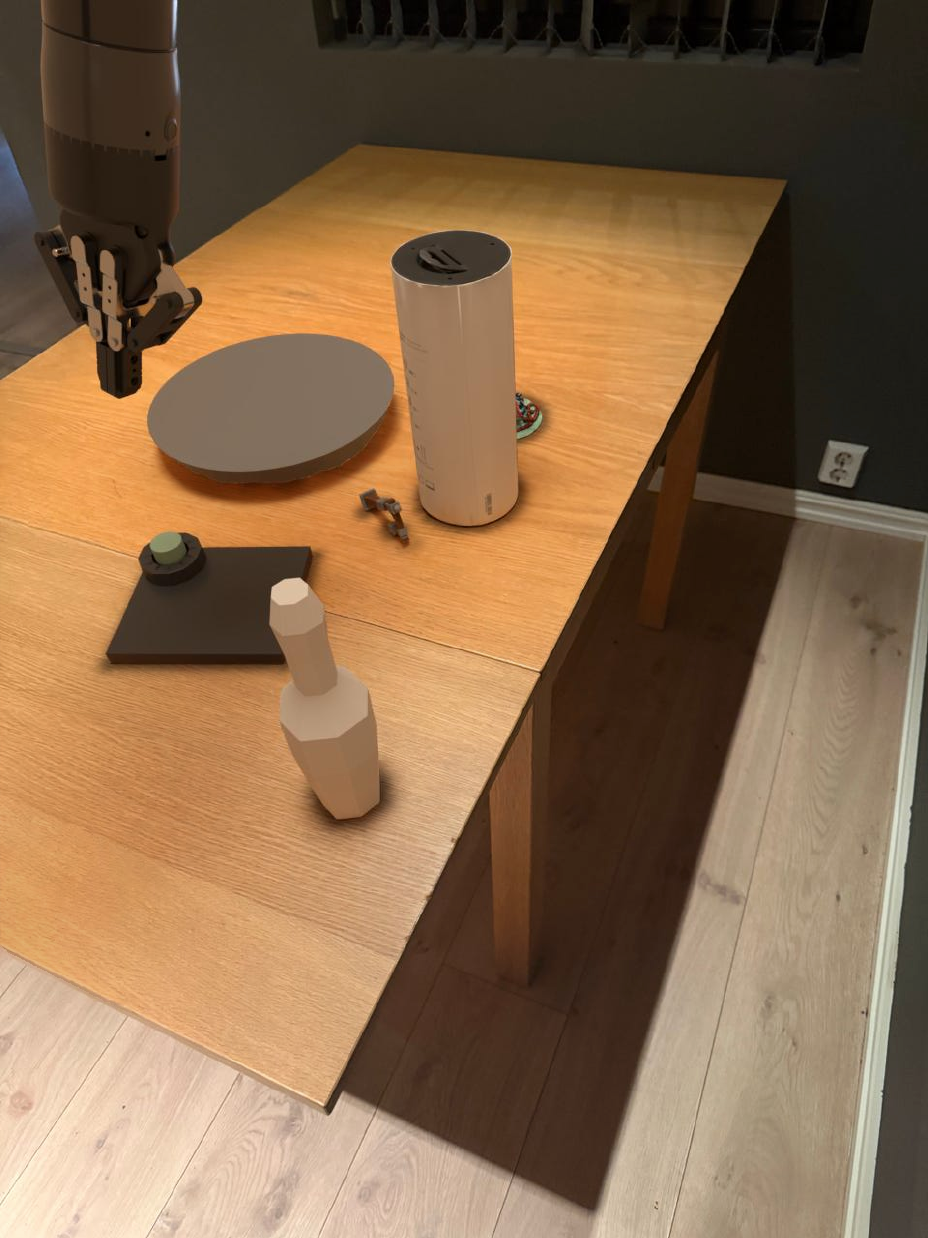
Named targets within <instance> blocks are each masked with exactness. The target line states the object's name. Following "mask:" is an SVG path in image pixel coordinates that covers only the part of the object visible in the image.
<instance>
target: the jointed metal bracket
mask: <svg viewBox="0 0 928 1238" xmlns="http://www.w3.org/2000/svg"><path fill="white" fill-rule="evenodd" d="M377 492H378V491H377V490H376V488H375V487H373V488H371V489H369V490H367V491H364V492H362V493H360V494H358V495H359V498H360V499H359V500H360V502H361V504H362V507H363V510H364V511H369V510H371V509H373V508H377V510H378V511H379V510H380V511H382V512H388V513H390V515H391V516H392V518H393V521H391V522H389V523H387V524H386V525H387V528H388V532H389V533H390V534H391V533H392V535H393V536H395V535H399V536H400V539H401V542H403V543H407V542H409V541H410V538H409V537H410V536H409V535H408V534H409V531H408V528H407V527H406V526H405V524H404V521H403V518H402V515H401V512H402V511H403V509H402V506H401V503H400V501H397V500H396V499H395V498H393V497H390V498H386V497H384V496H383V497H380V496H379V495H378V493H377Z"/></svg>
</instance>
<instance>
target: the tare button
mask: <svg viewBox="0 0 928 1238" xmlns="http://www.w3.org/2000/svg"><path fill="white" fill-rule="evenodd" d="M149 543H150V549H151V551H152V553H153V555H154V558H155V560H156V562H157V563H158V564H160V565H171V564H174V563H177V562H179V561H181V560H182V559H183V558H184V557H185V556H186V553H187V550H186V548H185V545H184V543H183V540H182V538H181V536H180V534H178V532H176V531H170V530H169V531H163V532H160V533H158V534H157V535H155V536H154V537H153V538H152V539H151V540H150V541H149Z"/></svg>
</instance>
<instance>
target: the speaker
mask: <svg viewBox="0 0 928 1238" xmlns="http://www.w3.org/2000/svg"><path fill="white" fill-rule="evenodd" d="M389 264H390V270H391V271H390V272H391V277H392V285H393V294H394V301H395V309H396V316H397V317H396V318H397V325H398V334H399V341H400V342H399V343H400V350H401V356H402V364H403V373H404V381H405V387H406V388H405V389H406V396H407V397H406V398H407V405H408V413H409V421H410V428H411V436H412V444H413V453H414V460H415V470H416V477H417V486H418V493H419V500H420V505H421V506H422V507H423V509H424V510H425V511H426V512H427V513H428V514H429V515H430V516H431V517H433V519H434V518H435V519H437V520H438V521H440V522H441V523H444V524H447V525H452V526H457V527H476V526H482V525H486V524H488V523H492V522H494V521H496V520H499V519H501V518H503V517H504V516H505V515H507V514H508V513H509V512H510V511H511V510H512V509H513V507H514V506H515V504H516V503H517V500H518V497H519V465H518V464H519V462H518V460H519V459H518V439H517V422H516V393H517V391H516V390H517V389H516V388H517V387H516V386H517V385H516V360H515V358H516V356H515V355H516V353H515V325H514V319H515V318H514V289H513V287H514V286H513V285H514V284H513V252H512V247H511V246H510V245H509V244H508V243H507V242H506V241H505V240H504V239H502V238H501V237H499V236H497V235H494V234H491V233H489V232H485V231H479V230H471V229H470V230H469V229H450V230H449V229H447V230H440V231H434V232H430V233H426V234H423V235H419V236H417V237H414V238H412V239H409V240H407V241H406V242H404V243H402V244H401V245H399V247H397V248H396V249H395V250H394V252H393V253H392V255H391V258H390V263H389Z"/></svg>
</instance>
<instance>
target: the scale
mask: <svg viewBox="0 0 928 1238" xmlns="http://www.w3.org/2000/svg"><path fill="white" fill-rule="evenodd" d="M177 533H178V534H180V536H181V538H182V540H183V543H184V545H185V548H186V550H187V553H186V556H185V557H184V558H183V559H182V560H181V561H179V562H177V563H174V564H171V565H160V564H158V563H157V562H156V560H155V558H154V555H153V553H152V551H151V549H150V542H148V543H146V545H144V546H143V548H142V550H141V552H140V554H139V556H138V559H137V560H138V563H139V565H140V568H141V570H142V573H141V575H140V576H139V579H138V581H137V583H136V585H135V587H134V590H133V593H132V595H131V596H130V599H129V601H128V604H127V606H126V608H125V610H124V612H123V615H122V616H121V619H120V621H119V623H118V626H117V627H116V630H115V632H114V634H113V637H112V639H111V640H110V644H109V646H108V647H107V650H106V652H105V655H106V657H107V659H108V661H109V663H110V664H116V665H117V664H118V665H119V664H121V665H123V664H124V665H126V664H129V665H131V664H132V665H133V664H134V665H135V664H136V665H137V664H139V665H141V664H142V665H143V664H144V665H146V664H147V665H149V664H150V665H151V664H153V665H154V664H156V665H157V664H158V665H166V664H167V665H173V664H174V665H180V664H181V665H284V664H285V663H286V657H285V655H284V653H283V651H282V649H281V647H280V645H279V643H278V641H277V639H276V637H275V635H274V633H273V631H272V629H271V627H270V625H269V624H270V604H271V591H272V587H273V586H274V585H276V584H278V583H279V582H281V581H283V580H284V579H292V578H301V579H302V580H303V581H304V582H305V583H307V581H308V577H309V573H310V569H311V566H312V562H313V558H314V555H313V552H312V551H313V550H312V547H311V545H305V546H304V545H303V546H302V545H301V546H297V545H294V546H288V545H287V546H210V547H209V546H208V547H207V546H206V547H203V545H202V543H201V541H200V539H199V537H197V536H195V535H193V534H191V533H190V532H185V531H184V532H183V531H182V532H181V531H180V532H177Z"/></svg>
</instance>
